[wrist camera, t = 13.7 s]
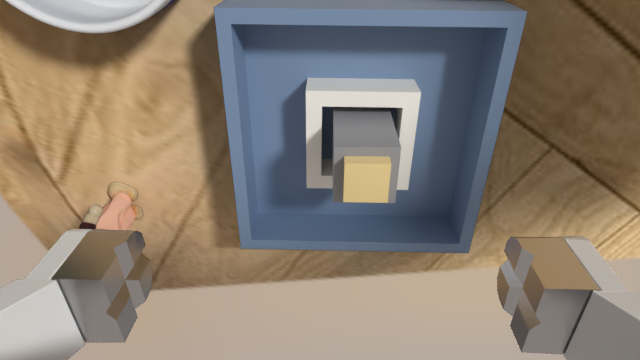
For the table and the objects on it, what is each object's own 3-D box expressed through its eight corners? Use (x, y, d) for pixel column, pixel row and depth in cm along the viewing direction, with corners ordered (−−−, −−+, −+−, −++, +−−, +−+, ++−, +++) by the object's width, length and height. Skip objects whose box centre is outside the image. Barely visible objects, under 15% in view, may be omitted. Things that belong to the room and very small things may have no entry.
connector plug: (387, 102, 35) (403, 154, 27) (383, 150, 37) (397, 211, 29) (333, 102, 35) (333, 153, 27) (332, 150, 37) (332, 210, 30)
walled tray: (500, -1, 32) (527, 11, 27) (454, 219, 42) (468, 253, 38) (229, -5, 32) (213, 7, 28) (249, 215, 42) (240, 248, 38)
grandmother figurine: (92, 175, 40) (4, 269, 29) (130, 170, 40) (56, 263, 29) (124, 239, 44) (56, 343, 33) (159, 235, 44) (103, 338, 33)
